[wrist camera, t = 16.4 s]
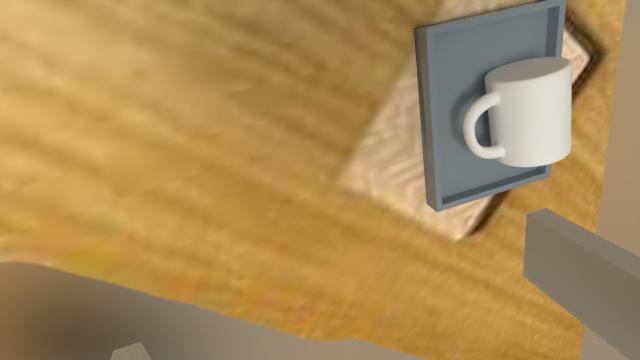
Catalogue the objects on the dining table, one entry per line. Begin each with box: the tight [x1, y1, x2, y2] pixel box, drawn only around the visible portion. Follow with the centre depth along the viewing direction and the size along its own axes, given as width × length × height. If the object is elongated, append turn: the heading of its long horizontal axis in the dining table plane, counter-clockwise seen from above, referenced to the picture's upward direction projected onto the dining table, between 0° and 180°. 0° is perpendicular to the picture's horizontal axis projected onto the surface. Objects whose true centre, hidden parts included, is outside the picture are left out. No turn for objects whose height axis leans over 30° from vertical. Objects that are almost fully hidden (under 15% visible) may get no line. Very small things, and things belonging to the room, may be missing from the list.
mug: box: [463, 57, 572, 167], centre depth 39 cm, size 12×10×8 cm
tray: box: [414, 0, 566, 212], centre depth 42 cm, size 22×17×2 cm
